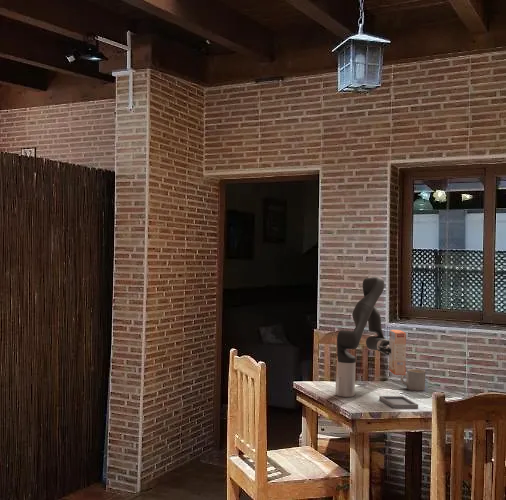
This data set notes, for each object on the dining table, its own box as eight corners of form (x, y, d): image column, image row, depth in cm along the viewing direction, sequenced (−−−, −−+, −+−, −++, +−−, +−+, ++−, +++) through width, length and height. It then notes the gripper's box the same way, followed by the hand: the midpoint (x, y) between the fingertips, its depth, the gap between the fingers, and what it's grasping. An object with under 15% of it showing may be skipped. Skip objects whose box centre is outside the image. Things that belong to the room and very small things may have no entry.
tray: (392, 408, 316) (392, 404, 316) (379, 399, 336) (379, 396, 336) (418, 408, 318) (418, 404, 318) (403, 399, 337) (403, 396, 337)
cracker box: (406, 375, 326) (406, 332, 326) (394, 375, 326) (394, 332, 326) (400, 370, 340) (400, 329, 340) (388, 370, 340) (388, 329, 340)
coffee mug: (423, 387, 374) (424, 369, 374) (426, 390, 364) (426, 372, 364) (399, 386, 375) (400, 368, 376) (401, 389, 366) (401, 371, 366)
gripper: (373, 339, 350) (384, 343, 334) (399, 339, 353) (411, 344, 336) (372, 353, 350) (383, 358, 334) (398, 354, 352) (410, 358, 336)
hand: (397, 351), depth 335 cm, fingers closed on cracker box, 6 cm apart
